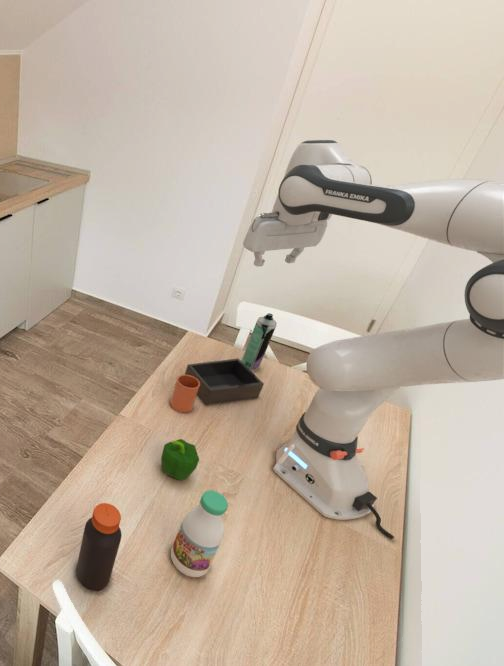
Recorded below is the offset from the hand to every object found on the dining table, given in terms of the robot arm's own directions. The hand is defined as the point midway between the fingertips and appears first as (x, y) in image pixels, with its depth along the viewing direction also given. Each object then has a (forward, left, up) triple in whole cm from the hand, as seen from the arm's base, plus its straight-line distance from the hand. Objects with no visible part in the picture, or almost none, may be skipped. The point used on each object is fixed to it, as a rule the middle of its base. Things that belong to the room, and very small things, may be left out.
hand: (273, 263), depth 120 cm
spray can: (+10, -15, -43) cm, 47 cm away
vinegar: (-46, +61, -43) cm, 88 cm away
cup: (-3, +17, -43) cm, 46 cm away
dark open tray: (+2, +1, -43) cm, 43 cm away
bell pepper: (-25, +31, -43) cm, 58 cm away
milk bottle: (-47, +40, -43) cm, 75 cm away
